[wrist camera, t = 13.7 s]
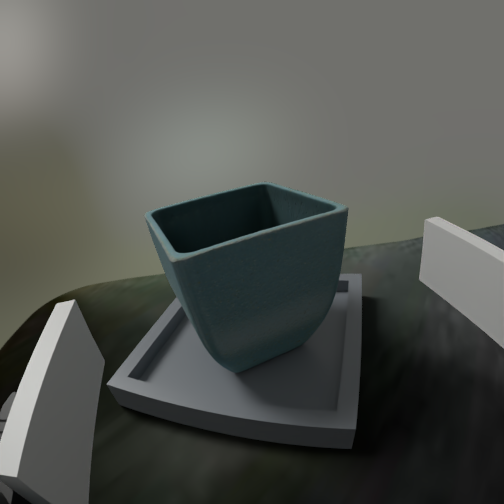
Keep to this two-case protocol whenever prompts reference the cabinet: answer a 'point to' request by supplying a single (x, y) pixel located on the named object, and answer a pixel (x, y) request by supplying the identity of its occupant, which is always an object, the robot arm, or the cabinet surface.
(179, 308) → the plant tray
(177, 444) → the cabinet surface
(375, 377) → the cabinet surface
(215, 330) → the flower pot
